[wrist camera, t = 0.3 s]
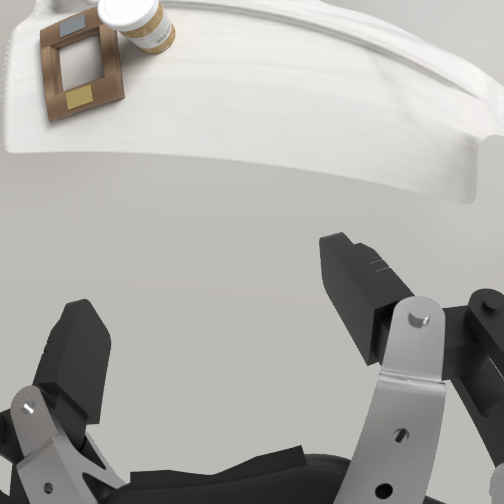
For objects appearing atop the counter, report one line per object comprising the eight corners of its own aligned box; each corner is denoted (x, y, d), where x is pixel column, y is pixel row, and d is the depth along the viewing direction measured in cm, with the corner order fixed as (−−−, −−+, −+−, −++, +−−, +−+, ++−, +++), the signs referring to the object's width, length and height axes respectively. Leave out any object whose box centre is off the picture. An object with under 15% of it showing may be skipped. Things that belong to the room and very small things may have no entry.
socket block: (49, 34, 24) (40, 30, 22) (114, 8, 24) (108, 2, 22) (58, 119, 29) (49, 120, 27) (125, 97, 30) (118, 97, 27)
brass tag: (66, 93, 26) (65, 93, 26) (91, 84, 26) (90, 84, 26) (69, 109, 27) (68, 109, 27) (93, 101, 27) (92, 101, 27)
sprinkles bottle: (159, 12, 26) (131, -34, 14) (184, 36, 28) (167, -4, 15) (128, 38, 27) (84, 6, 15) (152, 62, 28) (118, 37, 16)
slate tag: (60, 23, 22) (59, 23, 22) (84, 13, 22) (83, 13, 22) (61, 37, 23) (60, 37, 23) (85, 28, 23) (84, 27, 23)
